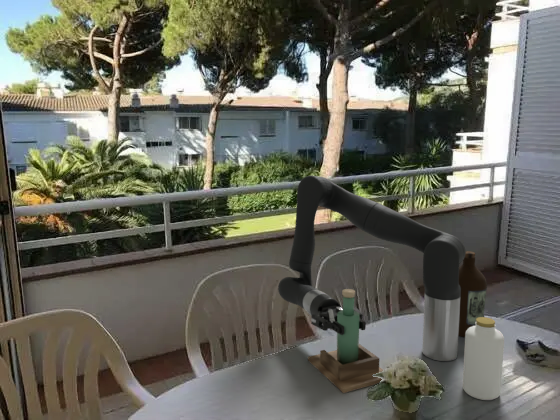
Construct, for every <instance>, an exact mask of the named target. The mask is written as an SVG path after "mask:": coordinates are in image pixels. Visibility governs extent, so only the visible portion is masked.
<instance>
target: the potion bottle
mask: <svg viewBox="0 0 560 420" xmlns="http://www.w3.org/2000/svg"><path fill="white" fill-rule="evenodd" d="M475 325H476V326H472V327H469V328H468V329H467V330H466V333H465V337H464V350H463V351H464V353H463V354H464V355H463V369H462V371H463V372H462V389H463V390H464V392H465V393H466V394H467V395H469V396H470V397H472V398H474V399H477V400H480V401H481V400H483V401H492V400H495V399H497V398H499V396H500V395H501V391H502V377H503V376H502V375H503V362H504V348H505V337H504V335H503V333H502V332H501V331H500V330H499V329H497V328H496V321H495V320H494V319H493V318H489V317H486V316H484V317H478V318H477V319H476V322H475Z"/></svg>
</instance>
